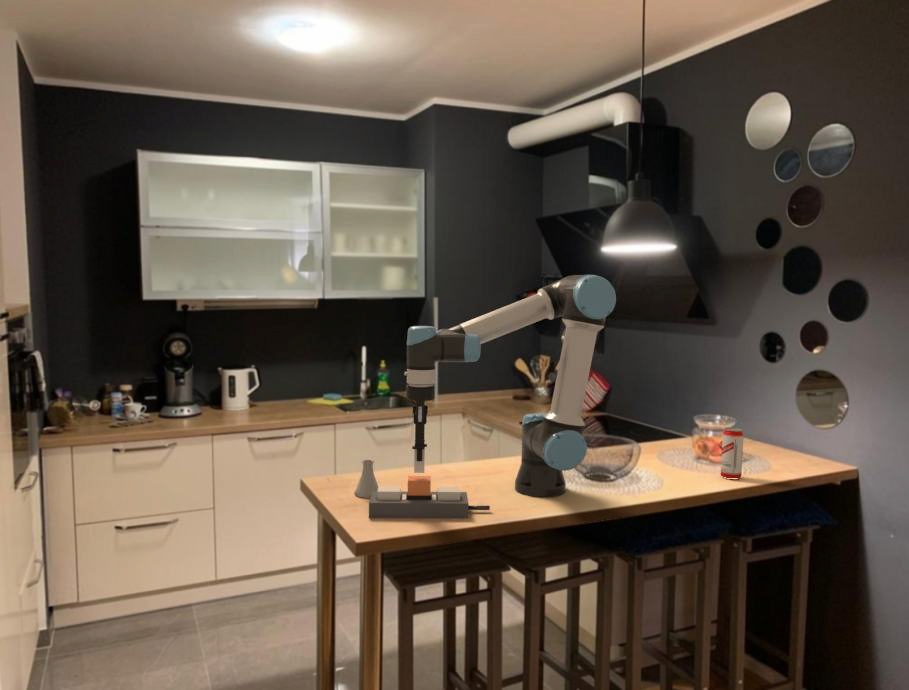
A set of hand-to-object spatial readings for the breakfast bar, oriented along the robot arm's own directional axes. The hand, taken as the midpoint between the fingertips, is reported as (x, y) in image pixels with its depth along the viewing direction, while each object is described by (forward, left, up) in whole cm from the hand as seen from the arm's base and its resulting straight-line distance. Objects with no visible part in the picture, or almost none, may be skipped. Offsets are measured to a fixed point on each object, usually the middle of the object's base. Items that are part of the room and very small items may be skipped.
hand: (419, 471), depth 191 cm
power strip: (-3, 0, -11) cm, 11 cm away
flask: (+15, -15, -11) cm, 24 cm away
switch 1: (+8, 0, -9) cm, 12 cm away
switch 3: (-8, 0, -9) cm, 12 cm away
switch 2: (0, 0, -6) cm, 6 cm away
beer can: (-100, -35, -11) cm, 107 cm away
